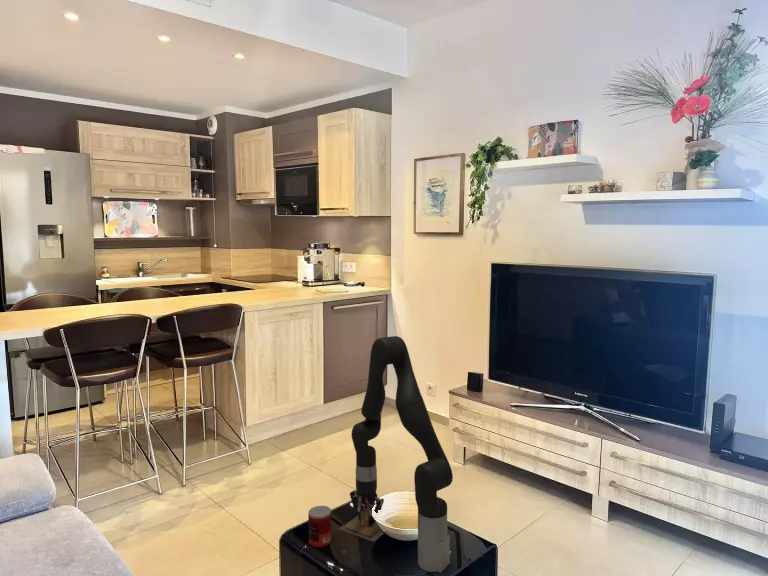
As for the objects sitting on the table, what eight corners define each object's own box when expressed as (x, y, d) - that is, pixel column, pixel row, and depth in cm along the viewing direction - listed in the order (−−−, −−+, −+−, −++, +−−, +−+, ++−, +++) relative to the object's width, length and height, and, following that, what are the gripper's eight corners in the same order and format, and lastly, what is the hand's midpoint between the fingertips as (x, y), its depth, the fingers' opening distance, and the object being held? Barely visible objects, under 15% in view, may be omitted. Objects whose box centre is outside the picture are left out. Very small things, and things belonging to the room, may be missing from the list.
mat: (394, 526, 192) (394, 525, 192) (373, 542, 181) (373, 541, 181) (360, 514, 200) (360, 513, 200) (339, 530, 190) (339, 528, 190)
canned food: (333, 536, 186) (333, 505, 185) (329, 549, 178) (328, 517, 177) (312, 535, 187) (311, 504, 186) (306, 548, 179) (305, 516, 178)
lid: (388, 524, 192) (388, 508, 192) (370, 538, 183) (370, 521, 183) (363, 516, 198) (363, 500, 198) (345, 529, 189) (344, 513, 189)
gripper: (388, 477, 189) (389, 523, 190) (356, 468, 196) (357, 513, 198) (376, 485, 182) (377, 533, 184) (343, 475, 190) (344, 521, 192)
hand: (366, 522), depth 191 cm, fingers open, 3 cm apart
